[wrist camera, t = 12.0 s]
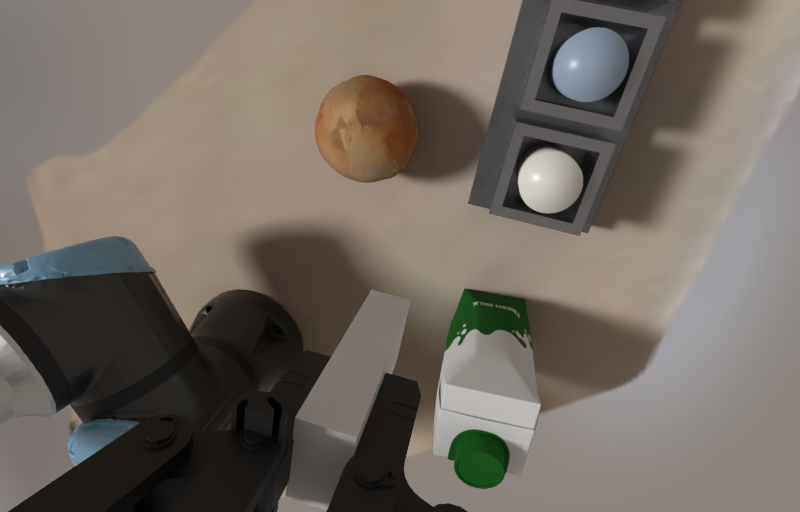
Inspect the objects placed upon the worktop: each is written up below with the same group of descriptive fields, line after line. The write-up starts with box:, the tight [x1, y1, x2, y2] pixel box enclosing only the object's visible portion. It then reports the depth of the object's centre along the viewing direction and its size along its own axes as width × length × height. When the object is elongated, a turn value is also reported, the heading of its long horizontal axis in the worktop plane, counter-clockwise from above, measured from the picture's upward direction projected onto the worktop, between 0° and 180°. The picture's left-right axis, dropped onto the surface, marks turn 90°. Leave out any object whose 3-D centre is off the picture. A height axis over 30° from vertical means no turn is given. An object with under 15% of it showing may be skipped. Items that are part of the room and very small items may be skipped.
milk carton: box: [433, 289, 541, 489], centre depth 42 cm, size 9×9×20 cm
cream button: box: [517, 144, 583, 213], centre depth 38 cm, size 5×5×5 cm
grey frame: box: [468, 0, 682, 236], centre depth 36 cm, size 12×28×8 cm, turn 169°
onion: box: [315, 75, 418, 183], centre depth 41 cm, size 10×10×10 cm
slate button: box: [549, 27, 629, 102], centre depth 34 cm, size 5×5×5 cm
